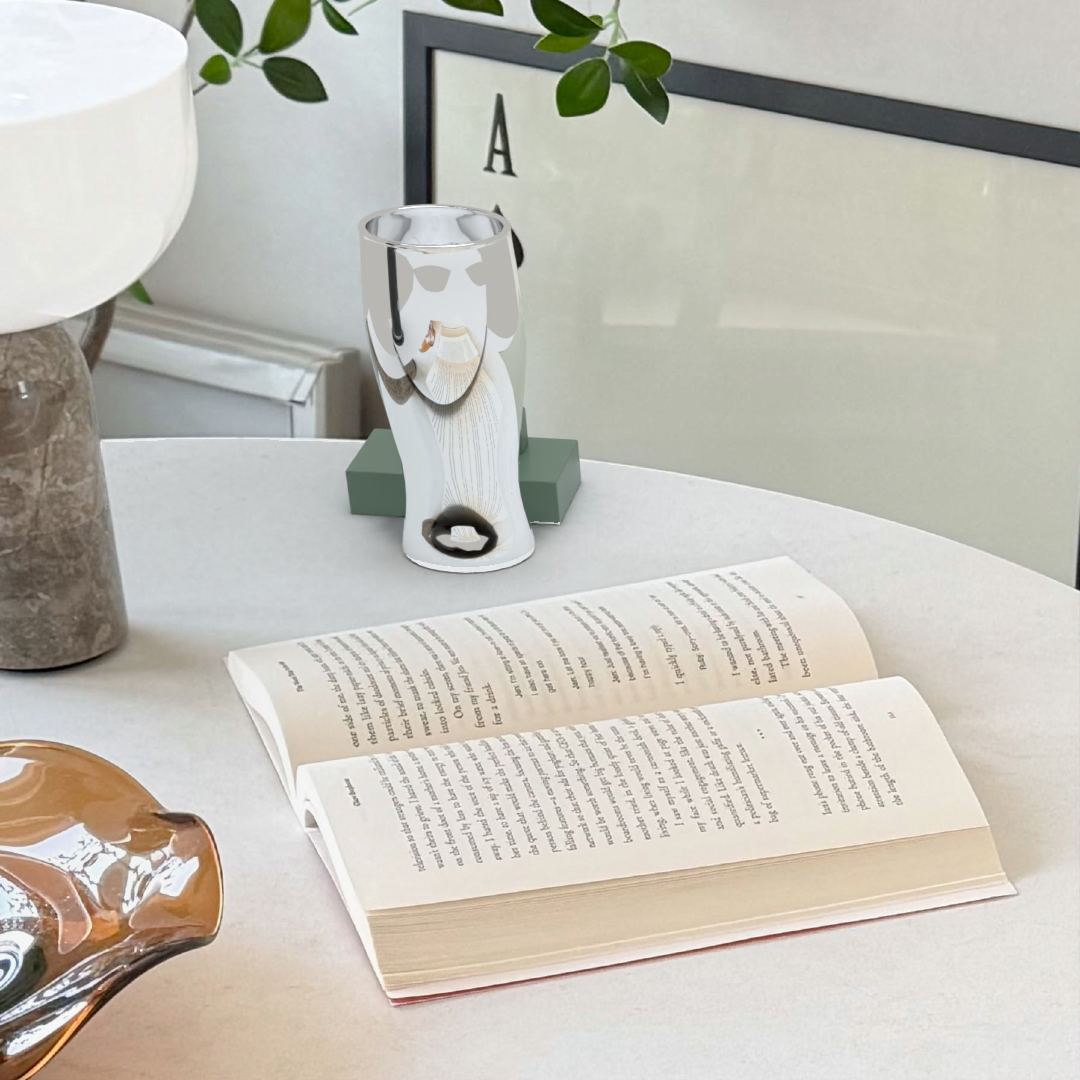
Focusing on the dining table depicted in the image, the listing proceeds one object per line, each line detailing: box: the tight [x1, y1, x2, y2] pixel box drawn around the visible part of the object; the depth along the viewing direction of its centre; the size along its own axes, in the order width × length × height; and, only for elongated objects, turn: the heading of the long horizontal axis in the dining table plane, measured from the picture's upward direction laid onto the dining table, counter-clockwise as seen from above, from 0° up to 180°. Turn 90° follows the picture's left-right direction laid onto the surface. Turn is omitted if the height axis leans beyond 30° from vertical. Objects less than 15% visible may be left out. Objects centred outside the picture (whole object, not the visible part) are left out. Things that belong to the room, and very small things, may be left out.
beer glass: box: [357, 203, 536, 567], centre depth 128 cm, size 7×7×15 cm
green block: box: [344, 406, 582, 523], centre depth 136 cm, size 10×7×4 cm
